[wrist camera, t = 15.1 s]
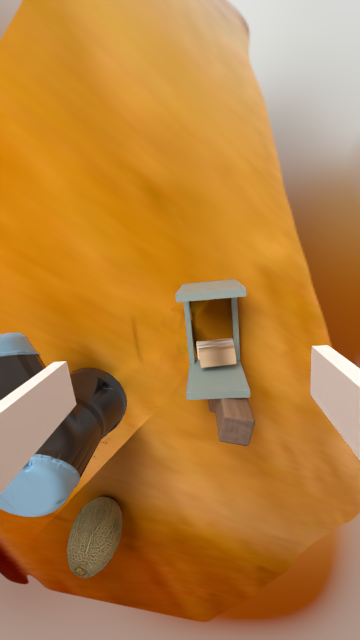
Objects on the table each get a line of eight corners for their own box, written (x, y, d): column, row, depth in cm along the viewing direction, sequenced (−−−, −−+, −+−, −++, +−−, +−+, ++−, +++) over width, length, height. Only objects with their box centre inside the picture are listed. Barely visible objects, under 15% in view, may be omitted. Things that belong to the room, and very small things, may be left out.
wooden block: (228, 403, 55) (242, 472, 38) (208, 399, 55) (212, 467, 38) (236, 366, 53) (256, 421, 35) (215, 362, 53) (224, 416, 36)
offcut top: (201, 362, 48) (200, 368, 46) (198, 348, 47) (198, 352, 45) (235, 358, 47) (236, 363, 45) (233, 343, 46) (234, 348, 44)
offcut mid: (200, 359, 50) (200, 364, 48) (197, 345, 50) (197, 349, 47) (234, 354, 49) (236, 359, 47) (232, 339, 49) (233, 343, 46)
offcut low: (198, 354, 53) (198, 359, 50) (196, 340, 52) (196, 344, 50) (233, 352, 52) (234, 356, 50) (232, 337, 51) (233, 341, 49)
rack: (190, 365, 53) (186, 400, 41) (182, 283, 49) (175, 294, 36) (239, 362, 52) (250, 397, 40) (235, 279, 48) (246, 287, 35)
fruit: (115, 479, 63) (88, 546, 48) (137, 512, 65) (118, 586, 50) (78, 493, 65) (42, 561, 51) (100, 524, 67) (72, 598, 53)
